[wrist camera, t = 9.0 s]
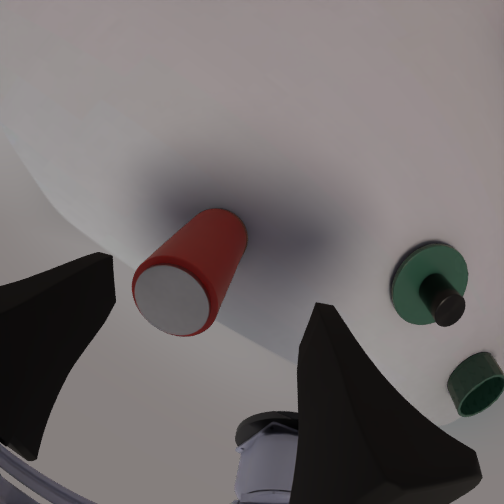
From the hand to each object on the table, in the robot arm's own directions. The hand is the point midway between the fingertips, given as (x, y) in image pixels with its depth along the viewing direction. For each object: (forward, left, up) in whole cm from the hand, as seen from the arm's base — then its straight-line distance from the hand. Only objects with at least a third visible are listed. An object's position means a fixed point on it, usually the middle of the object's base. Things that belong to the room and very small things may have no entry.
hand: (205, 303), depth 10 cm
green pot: (-1, -27, -10) cm, 29 cm away
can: (-2, +1, -10) cm, 10 cm away
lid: (+4, -13, -10) cm, 17 cm away
